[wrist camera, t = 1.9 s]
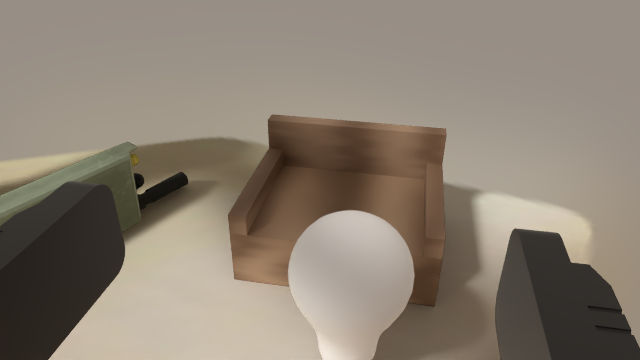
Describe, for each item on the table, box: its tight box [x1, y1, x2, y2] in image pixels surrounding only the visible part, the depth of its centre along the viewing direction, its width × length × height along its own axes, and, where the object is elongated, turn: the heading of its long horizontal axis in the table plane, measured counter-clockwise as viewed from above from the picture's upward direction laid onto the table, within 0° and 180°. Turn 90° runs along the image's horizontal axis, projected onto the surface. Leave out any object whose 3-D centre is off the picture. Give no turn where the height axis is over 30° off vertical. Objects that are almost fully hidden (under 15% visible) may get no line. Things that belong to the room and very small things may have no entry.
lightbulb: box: [288, 210, 415, 360], centre depth 26 cm, size 6×6×11 cm
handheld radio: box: [0, 142, 188, 232], centre depth 37 cm, size 7×3×25 cm
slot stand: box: [228, 115, 446, 306], centre depth 38 cm, size 14×11×8 cm
